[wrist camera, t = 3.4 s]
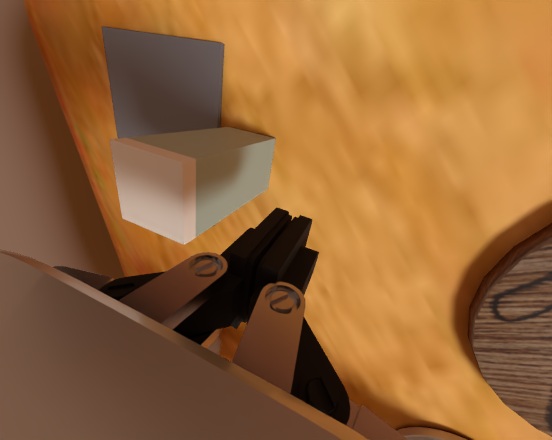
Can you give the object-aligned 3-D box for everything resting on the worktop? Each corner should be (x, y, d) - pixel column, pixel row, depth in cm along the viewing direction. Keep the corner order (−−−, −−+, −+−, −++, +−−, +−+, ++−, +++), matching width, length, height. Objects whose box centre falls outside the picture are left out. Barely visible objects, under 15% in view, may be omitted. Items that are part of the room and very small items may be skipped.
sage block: (275, 138, 22) (182, 162, 12) (267, 189, 24) (184, 244, 14) (229, 126, 23) (109, 139, 13) (225, 175, 26) (122, 218, 16)
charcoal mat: (224, 44, 20) (220, 42, 20) (215, 224, 29) (212, 226, 28) (106, 27, 24) (101, 26, 24) (129, 191, 33) (125, 192, 32)
